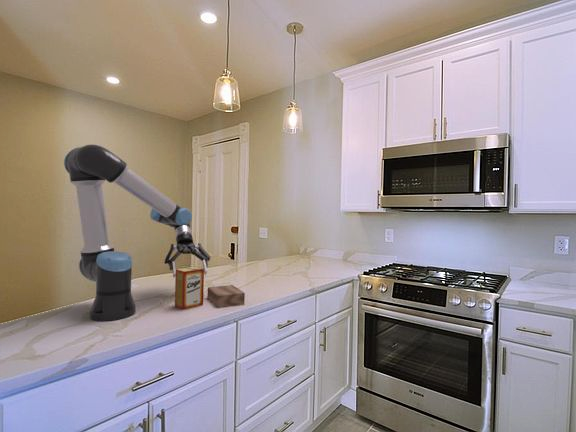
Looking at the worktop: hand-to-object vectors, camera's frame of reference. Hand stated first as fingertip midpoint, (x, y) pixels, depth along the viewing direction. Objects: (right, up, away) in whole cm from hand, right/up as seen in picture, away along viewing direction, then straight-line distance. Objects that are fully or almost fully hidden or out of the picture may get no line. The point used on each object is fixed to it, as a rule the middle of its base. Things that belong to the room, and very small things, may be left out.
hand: (190, 274), depth 135 cm
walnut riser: (+15, -13, +3) cm, 20 cm away
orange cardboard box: (+1, -13, -5) cm, 14 cm away
